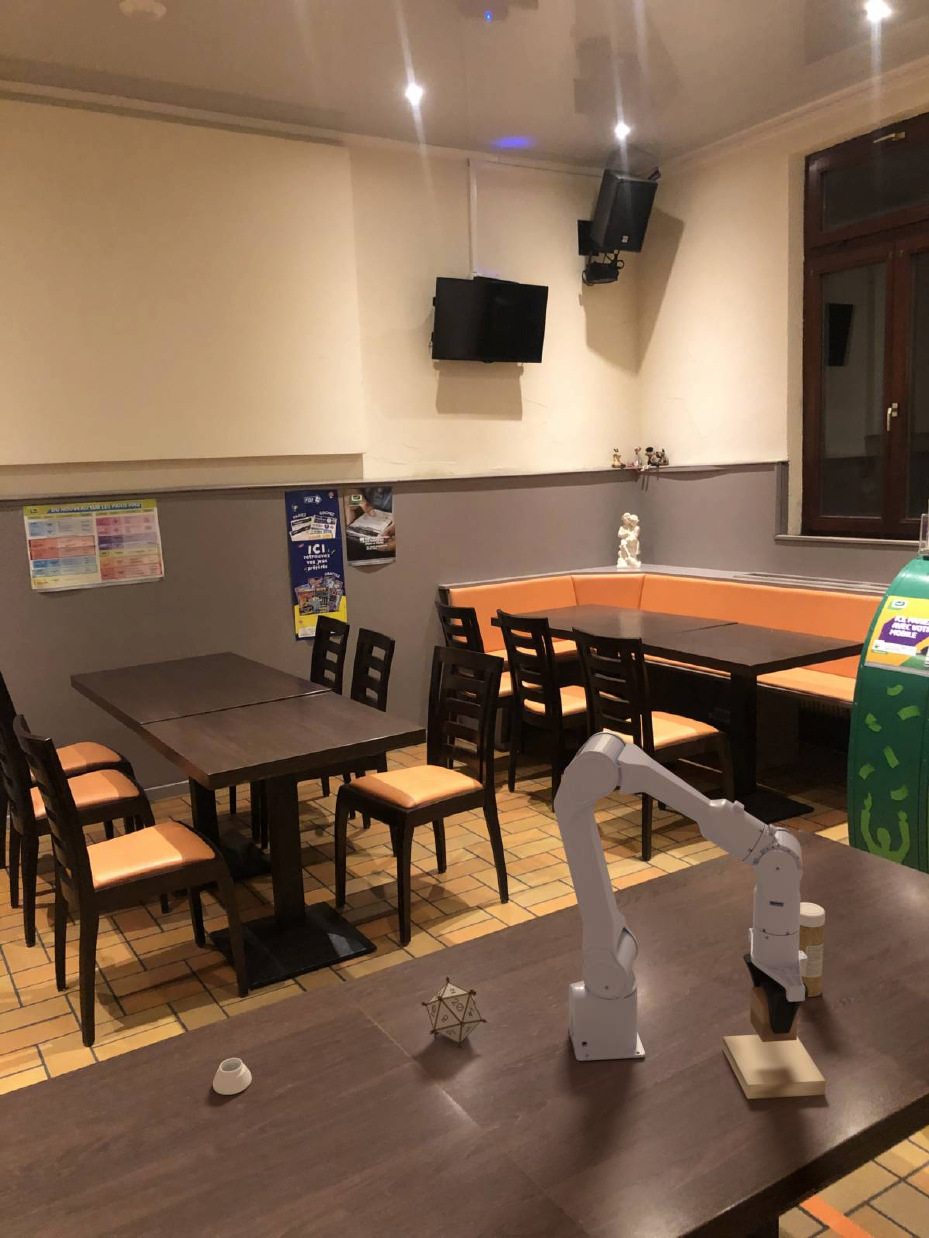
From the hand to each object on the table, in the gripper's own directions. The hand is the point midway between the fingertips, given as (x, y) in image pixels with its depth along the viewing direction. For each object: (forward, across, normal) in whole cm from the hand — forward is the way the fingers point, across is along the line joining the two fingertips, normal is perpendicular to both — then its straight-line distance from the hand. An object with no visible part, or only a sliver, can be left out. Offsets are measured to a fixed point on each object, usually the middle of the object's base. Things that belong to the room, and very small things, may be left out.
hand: (773, 1019), depth 122 cm
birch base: (+8, 0, 0) cm, 8 cm away
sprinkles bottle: (+8, +18, -12) cm, 23 cm away
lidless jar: (+8, +4, +72) cm, 73 cm away
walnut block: (+2, 0, 0) cm, 2 cm away
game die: (+8, +11, +42) cm, 44 cm away
